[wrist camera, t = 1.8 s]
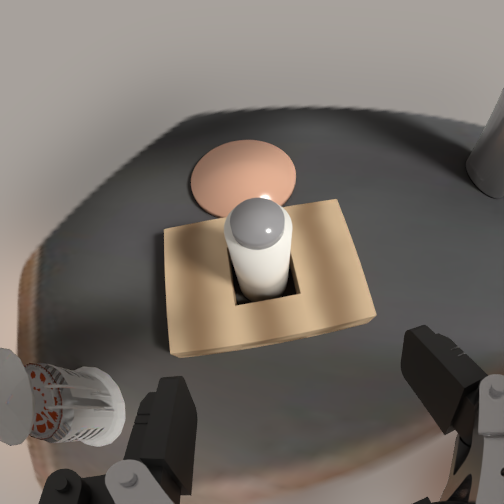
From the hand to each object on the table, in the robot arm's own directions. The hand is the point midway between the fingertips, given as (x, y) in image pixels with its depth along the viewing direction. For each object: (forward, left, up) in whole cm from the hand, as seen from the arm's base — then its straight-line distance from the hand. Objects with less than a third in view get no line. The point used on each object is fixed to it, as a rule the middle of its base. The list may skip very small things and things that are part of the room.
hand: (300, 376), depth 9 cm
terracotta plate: (0, -27, -20) cm, 33 cm away
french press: (+21, 0, -20) cm, 29 cm away
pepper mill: (0, -12, -20) cm, 23 cm away
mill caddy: (0, -12, -20) cm, 23 cm away
